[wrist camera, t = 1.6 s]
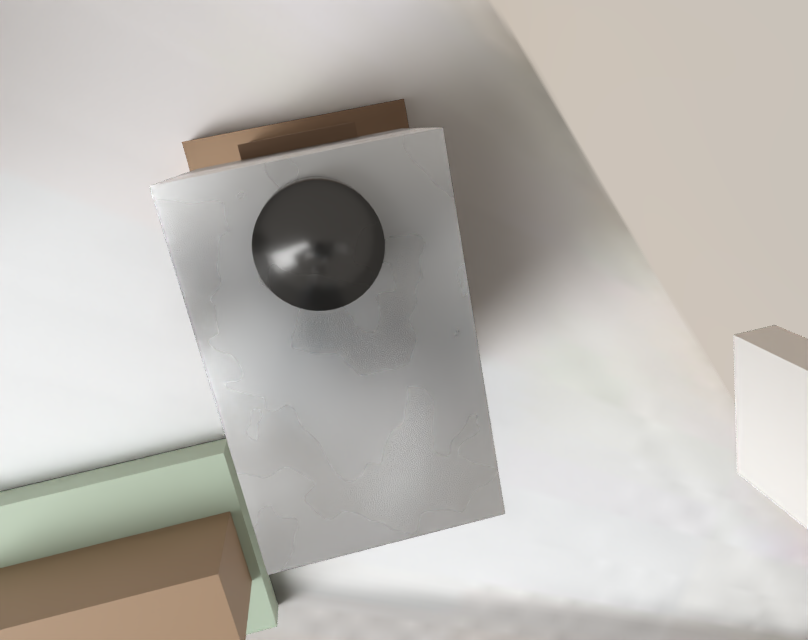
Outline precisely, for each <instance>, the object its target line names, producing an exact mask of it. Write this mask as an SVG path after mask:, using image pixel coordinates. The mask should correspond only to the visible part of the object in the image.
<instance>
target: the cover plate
mask: <svg viewBox="0 0 808 640" xmlns="http://www.w3.org/2000/svg"><path fill="white" fill-rule="evenodd" d="M149 187H150V190H151V194H152V197H153V200H154V203H155V207H156V210H157V213H158V217H159V220H160V223H161V226H162V230H163V233H164V236H165V240H166V243H167V246H168V249H169V253H170V256H171V259H172V262H173V266H174V269H175V272H176V276H177V279H178V282H179V285H180V289H181V292H182V295H183V299H184V302H185V305H186V308H187V312H188V315H189V318H190V322H191V325H192V328H193V331H194V335H195V338H196V341H197V344H198V348H199V351H200V354H201V358H202V361H203V364H204V367H205V371H206V374H207V377H208V381H209V384H210V387H211V390H212V394H213V397H214V400H215V404H216V407H217V410H218V413H219V417H220V420H221V423H222V426H223V430H224V433H225V436H226V440H227V443H228V446H229V449H230V453H231V456H232V459H233V463H234V466H235V469H236V472H237V476H238V479H239V482H240V486H241V489H242V492H243V495H244V499H245V502H246V505H247V508H248V512H249V515H250V518H251V522H252V525H253V528H254V531H255V535H256V538H257V541H258V545H259V548H260V551H261V554H262V558H263V561H264V564H265V567H266V571H267V574H268V575H270V574H273V573H277V572H281V571H285V570H289V569H293V568H297V567H301V566H305V565H308V564H312V563H316V562H320V561H324V560H328V559H332V558H336V557H339V556H343V555H347V554H351V553H355V552H359V551H363V550H367V549H370V548H374V547H378V546H382V545H386V544H390V543H394V542H398V541H402V540H405V539H409V538H413V537H417V536H421V535H425V534H429V533H433V532H436V531H440V530H444V529H448V528H452V527H456V526H460V525H464V524H468V523H471V522H475V521H479V520H483V519H487V518H491V517H495V516H499V515H502V514H505V510H504V503H503V497H502V491H501V485H500V479H499V472H498V466H497V460H496V454H495V448H494V441H493V435H492V429H491V423H490V417H489V410H488V404H487V398H486V392H485V385H484V379H483V373H482V367H481V361H480V354H479V348H478V342H477V336H476V330H475V323H474V317H473V311H472V305H471V299H470V292H469V286H468V280H467V274H466V268H465V261H464V255H463V249H462V243H461V237H460V230H459V224H458V218H457V212H456V205H455V199H454V193H453V187H452V181H451V174H450V168H449V162H448V156H447V150H446V143H445V137H444V131H443V127H436V128H415V129H410V130H405V131H400V132H395V133H390V134H385V135H380V136H375V137H370V138H365V139H360V140H355V141H350V142H345V143H340V144H335V145H330V146H325V147H320V148H315V149H310V150H305V151H300V152H295V153H290V154H285V155H280V156H275V157H270V158H265V159H260V160H255V161H250V162H245V163H240V164H235V165H230V166H225V167H220V168H215V169H210V170H205V171H200V172H195V173H190V174H185V175H180V176H176V177H173V178H170V179H167V180H165V181H162V182H159V183H156V184H154V185H151V186H149Z"/></svg>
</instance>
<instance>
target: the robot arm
mask: <svg viewBox="0 0 808 640" xmlns="http://www.w3.org/2000/svg"><path fill="white" fill-rule="evenodd" d="M734 370H735V371H734V372H735V373H734V374H735V414H736V454H737V474H739V475H740V476H741V477H742V478H744V479H745V480H746V481H747V482H749V483H750V484H751V485H752V486H754V487H755V488H756V489H757V490H759V491H760V492H761V493H762V494H764V495H765V496H766V497H767V498H769V499H770V500H771V501H772V502H774V503H775V504H776V505H777V506H779V507H780V508H781V509H782V510H784V511H785V512H786V513H787V514H789V515H790V516H791V517H792V518H794V519H795V520H796V521H797V522H799V523H800V524H801V525H802V526H803V527H805V528H806V529H807V530H808V339H807V338H805V337H802V336H800V335H797V334H795V333H792V332H790V331H788V330H786V329H783V328H781V327H778V326H776V325H772V326H768V327H764V328H760V329H756V330H752V331H747V332H743V333H739V334H735V335H734Z"/></svg>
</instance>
